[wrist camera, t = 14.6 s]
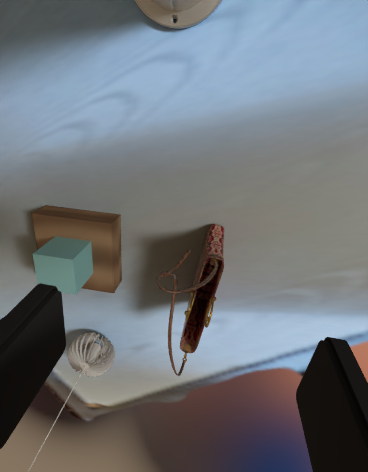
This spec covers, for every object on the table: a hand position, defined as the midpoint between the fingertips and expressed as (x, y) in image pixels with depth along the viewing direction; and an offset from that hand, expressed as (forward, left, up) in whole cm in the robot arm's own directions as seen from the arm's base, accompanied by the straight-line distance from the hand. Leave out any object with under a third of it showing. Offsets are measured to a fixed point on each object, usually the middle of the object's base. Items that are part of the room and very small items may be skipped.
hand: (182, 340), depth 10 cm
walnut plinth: (+17, -21, -35) cm, 44 cm away
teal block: (+17, -21, -31) cm, 41 cm away
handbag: (+15, -1, -35) cm, 38 cm away
